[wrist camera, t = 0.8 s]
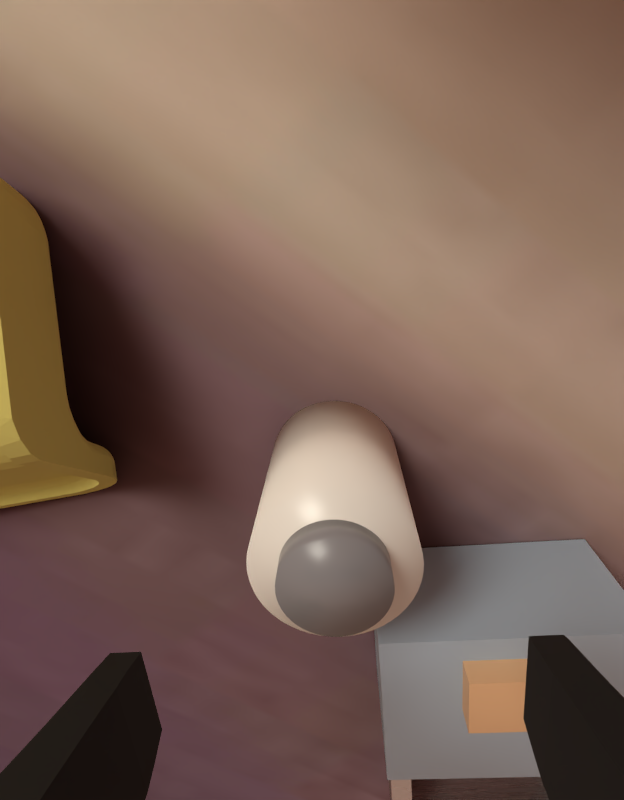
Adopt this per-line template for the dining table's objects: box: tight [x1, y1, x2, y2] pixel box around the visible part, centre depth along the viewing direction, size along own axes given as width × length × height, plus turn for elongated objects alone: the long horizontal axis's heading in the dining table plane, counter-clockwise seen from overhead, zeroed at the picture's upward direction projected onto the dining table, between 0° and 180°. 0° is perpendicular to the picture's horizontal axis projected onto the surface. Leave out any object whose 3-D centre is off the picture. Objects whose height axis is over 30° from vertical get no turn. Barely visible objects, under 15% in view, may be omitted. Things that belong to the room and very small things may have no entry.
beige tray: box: [389, 777, 549, 800], centre depth 21 cm, size 8×8×2 cm
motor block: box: [374, 539, 624, 780], centre depth 18 cm, size 8×6×5 cm
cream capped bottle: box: [246, 401, 424, 637], centre depth 15 cm, size 4×4×7 cm
